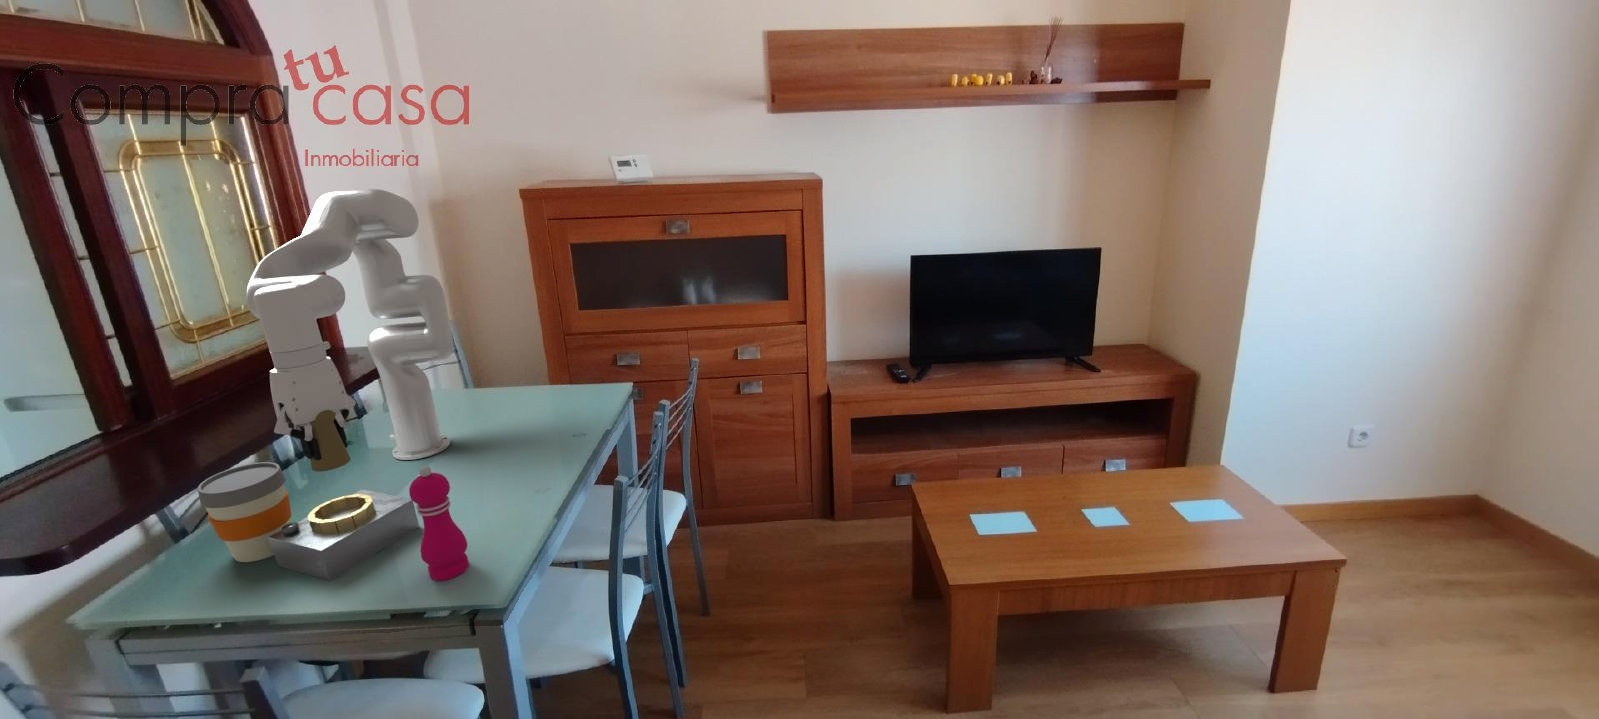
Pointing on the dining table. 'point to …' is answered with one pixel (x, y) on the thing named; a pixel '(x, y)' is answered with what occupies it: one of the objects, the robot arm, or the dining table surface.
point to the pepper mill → (438, 527)
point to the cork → (328, 443)
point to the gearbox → (343, 533)
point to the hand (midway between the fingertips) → (327, 452)
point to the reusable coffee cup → (247, 508)
